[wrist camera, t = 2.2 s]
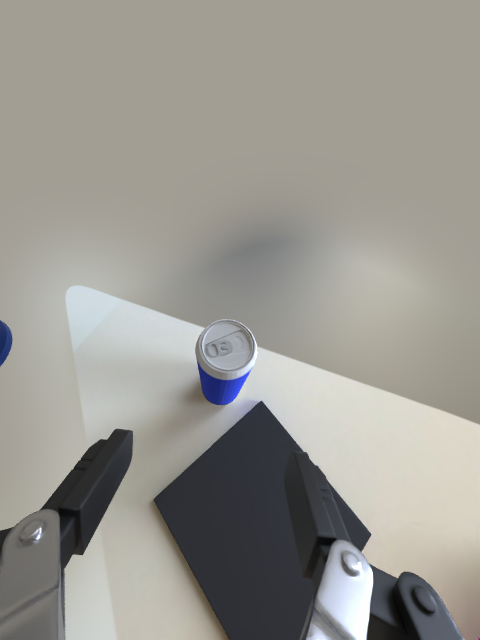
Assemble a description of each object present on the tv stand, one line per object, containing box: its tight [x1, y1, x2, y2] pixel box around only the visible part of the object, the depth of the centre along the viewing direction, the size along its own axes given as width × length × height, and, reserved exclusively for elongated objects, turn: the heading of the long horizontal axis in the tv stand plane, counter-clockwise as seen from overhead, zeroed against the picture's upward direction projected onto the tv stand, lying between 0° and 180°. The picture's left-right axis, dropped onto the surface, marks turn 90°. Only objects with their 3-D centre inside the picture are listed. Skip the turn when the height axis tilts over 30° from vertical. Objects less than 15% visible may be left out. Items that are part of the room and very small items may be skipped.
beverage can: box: [196, 319, 257, 405], centre depth 24 cm, size 5×5×15 cm
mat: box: [154, 401, 371, 640], centre depth 24 cm, size 16×18×1 cm
